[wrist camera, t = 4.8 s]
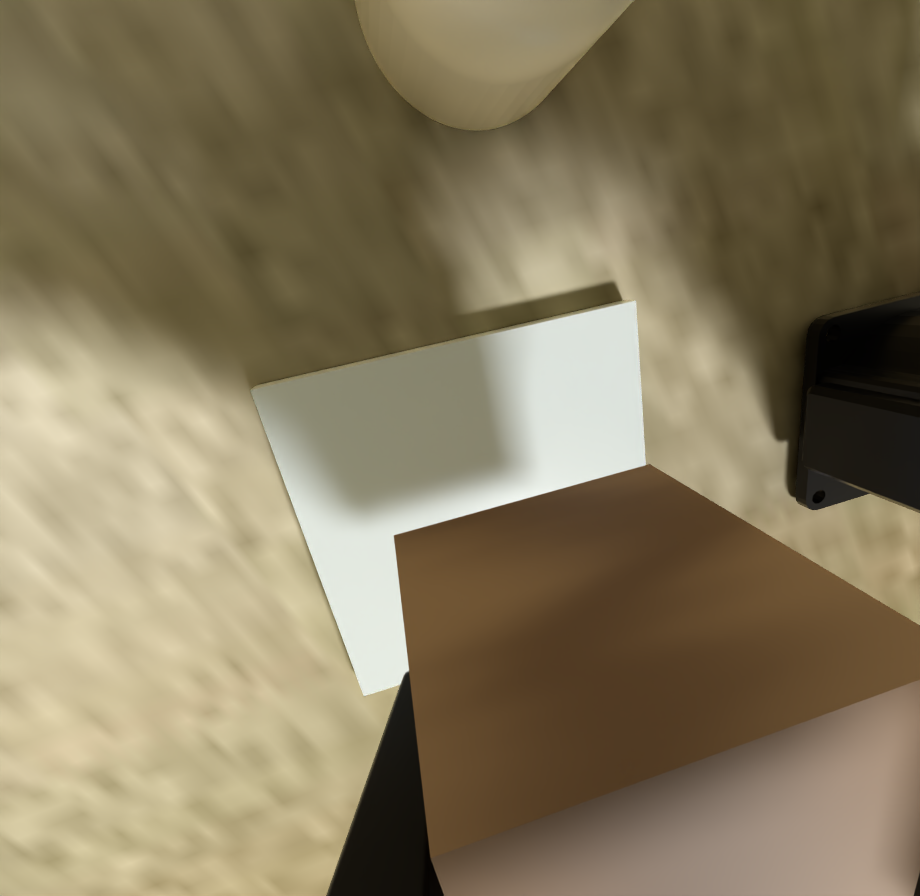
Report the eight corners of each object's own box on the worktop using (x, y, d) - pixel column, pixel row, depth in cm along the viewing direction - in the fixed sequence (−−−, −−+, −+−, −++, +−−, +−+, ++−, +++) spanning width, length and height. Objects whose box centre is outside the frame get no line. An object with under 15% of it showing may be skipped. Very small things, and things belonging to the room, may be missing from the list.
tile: (623, 300, 13) (635, 300, 12) (644, 592, 16) (653, 603, 15) (255, 385, 11) (250, 389, 11) (363, 681, 15) (363, 696, 14)
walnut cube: (649, 464, 9) (975, 659, 4) (660, 661, 10) (897, 955, 6) (393, 535, 8) (431, 857, 3) (450, 730, 10) (526, 1119, 5)
